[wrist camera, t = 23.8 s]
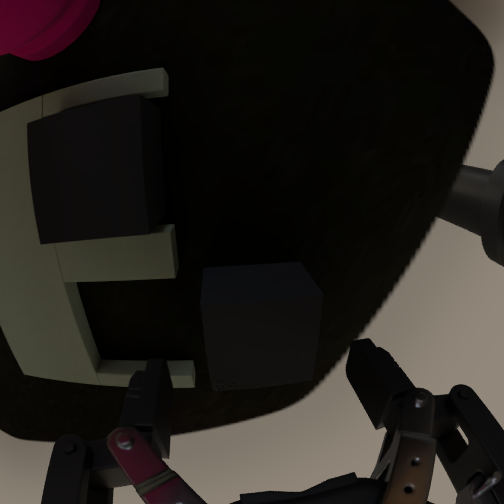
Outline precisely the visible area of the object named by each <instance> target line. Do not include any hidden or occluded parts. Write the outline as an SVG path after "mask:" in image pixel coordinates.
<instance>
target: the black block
mask: <svg viewBox="0 0 504 504" xmlns="http://www.w3.org/2000/svg"><path fill="white" fill-rule="evenodd" d="M323 298H324V294H323V293H322V291H321V290H320V289H319V287H318V286H317V284H316V283H315V282H314V280H313V279H312V277H311V276H310V275H309V273H308V272H307V270H306V269H305V268H304V266H303V265H302V263H301V262H286V263H271V264H255V265H239V266H222V267H205V268H203V275H202V287H201V300H200V308H201V317H202V325H203V332H204V340H205V347H206V354H207V361H208V368H209V375H210V381H211V387H212V390H213V391H219V390H234V389H247V388H257V387H267V386H275V385H283V384H291V383H298V382H304V381H311V380H313V374H314V367H315V361H316V354H317V347H318V340H319V332H320V324H321V316H322V307H323Z"/></svg>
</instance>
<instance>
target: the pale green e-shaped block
mask: <svg viewBox="0 0 504 504" xmlns="http://www.w3.org/2000/svg"><path fill="white" fill-rule="evenodd" d="M135 95H142V96H143V97H144V98H146V99H148V98H156V97H165V96H168V74H167V73H166V71H165V70H164V68H157V69H150V70H143V71H137V72H131V73H125V74H120V75H115V76H110V77H106V78H101V79H97V80H93V81H89V82H85V83H81V84H77V85H74V86H70V87H67V88H64V89H60V90H57V91H54V92H51V93H48V94H45V95H44V96H43V95H42V96H39V97H36V98H34V99H31V100H28V101H26V102H23V103H20V104H18V105H16V106H13V107H11V108H8V109H6V110H4V111H2V112H0V325H1V327H2V330H3V332H4V334H5V337H6V339H7V341H8V343H9V345H10V347H11V350H12V352H13V354H14V356H15V358H16V360H17V362H18V363H19V365H20V367H21V369H22V371H23V373H24V374H26V375H31V376H36V377H42V378H48V379H55V380H62V381H69V382H77V383H86V384H96V385H108V386H123V387H128V385H129V381H130V378H131V377H132V376H133V374H134V373H135V372H136V371H137V370H145V368H146V364H147V361H131V360H104V359H102V360H101V357H100V355H99V352H98V350H97V347H96V344H95V341H94V339H93V336H92V333H91V330H90V327H89V324H88V321H87V318H86V314H85V311H84V308H83V305H82V301H81V298H80V294H79V290H78V287H77V283H76V282H91V281H119V280H143V279H164V278H176V275H177V271H178V268H179V262H178V253H177V244H176V234H175V225H174V224H168V225H156V227H155V228H154V230H153V231H152V232H151V234H149V235H139V236H127V237H115V238H104V239H93V240H82V241H72V242H62V243H52V244H43V245H41V244H40V240H39V235H38V230H37V225H36V220H35V214H34V207H33V201H32V193H31V185H30V176H29V164H28V148H27V123H29V122H32V121H35V120H38V119H41V118H44V117H47V116H50V115H53V114H57V113H60V112H63V111H67V110H71V109H74V108H78V107H82V106H86V105H90V104H94V103H99V102H103V101H108V100H113V99H118V98H123V97H129V96H135ZM167 364H168V368H169V372H170V376H171V380H172V384H173V388H193V387H195V368H194V363H193V360H180V361H167Z"/></svg>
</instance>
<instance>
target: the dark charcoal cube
mask: <svg viewBox="0 0 504 504" xmlns="http://www.w3.org/2000/svg"><path fill="white" fill-rule="evenodd" d="M27 148H28V164H29V176H30V185H31V193H32V201H33V207H34V214H35V220H36V225H37V230H38V235H39V240H40V244H41V245H43V244H52V243H62V242H72V241H82V240H93V239H104V238H115V237H127V236H139V235H149V234H151V232H152V231H153V230H154V228H155V227H156V225H157V224H158V223H159V221H160V220H161V219H162V217H163V216H164V215H165V214H166V201H165V189H164V176H163V161H162V141H161V111H160V108H159V107H157V106H156V105H154V104H153V103H152V102H150V101H149V100H147V99H146V98H144V97H143V96H142V95H135V96H129V97H123V98H118V99H113V100H108V101H103V102H99V103H94V104H90V105H86V106H82V107H78V108H74V109H71V110H67V111H63V112H60V113H57V114H53V115H50V116H47V117H44V118H41V119H38V120H35V121H32V122H29V123H27Z"/></svg>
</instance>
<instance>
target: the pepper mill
mask: <svg viewBox="0 0 504 504" xmlns="http://www.w3.org/2000/svg"><path fill="white" fill-rule="evenodd" d="M99 4H100V0H0V55H4V54H7V53H11V54H13V55H16V56H19V57H21V58H24V59H27V60H31V61H38V60H43V59H46V58H49V57H51V56H53V55H55V54H57V53H59V52H61V51H62V50H64V49H65V48H66V47H67V46H69V45H70V44H71V43H73V42H74V41H75V40H76V39H77V38H78V37H79V36H80V35H81V34H82V33H83V32H84V30H85V29H86V28H87V26H88V25H89V24H90V22H91V21H92V19H93V17H94V15H95V14H96V11H97V9H98V7H99Z"/></svg>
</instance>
